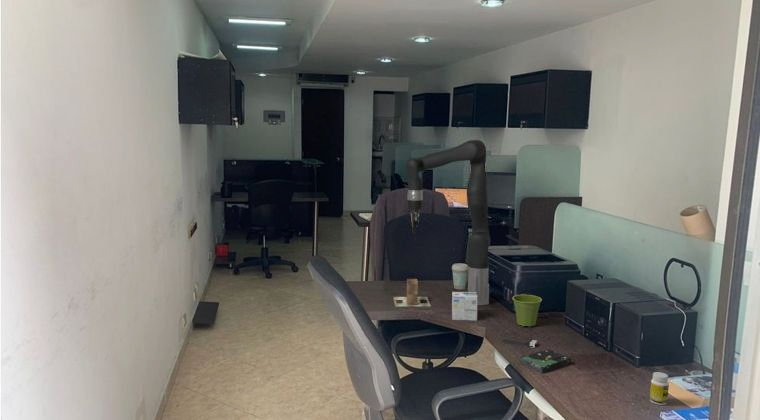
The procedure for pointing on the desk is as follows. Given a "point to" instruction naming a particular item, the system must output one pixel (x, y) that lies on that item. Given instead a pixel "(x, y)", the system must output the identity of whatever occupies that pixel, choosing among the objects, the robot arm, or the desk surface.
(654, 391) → the supplement bottle
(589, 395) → the desk surface
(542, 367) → the disk drive
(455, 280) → the coffee cup
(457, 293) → the light bulb box
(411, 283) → the walnut block
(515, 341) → the usb drive
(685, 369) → the desk surface
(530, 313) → the plant pot
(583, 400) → the desk surface
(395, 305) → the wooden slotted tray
